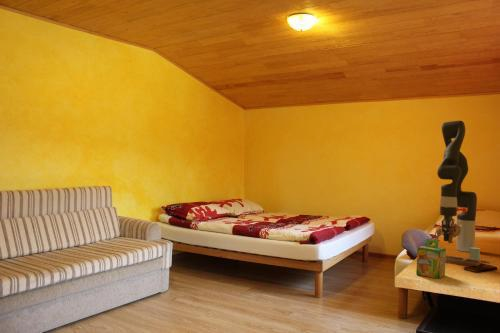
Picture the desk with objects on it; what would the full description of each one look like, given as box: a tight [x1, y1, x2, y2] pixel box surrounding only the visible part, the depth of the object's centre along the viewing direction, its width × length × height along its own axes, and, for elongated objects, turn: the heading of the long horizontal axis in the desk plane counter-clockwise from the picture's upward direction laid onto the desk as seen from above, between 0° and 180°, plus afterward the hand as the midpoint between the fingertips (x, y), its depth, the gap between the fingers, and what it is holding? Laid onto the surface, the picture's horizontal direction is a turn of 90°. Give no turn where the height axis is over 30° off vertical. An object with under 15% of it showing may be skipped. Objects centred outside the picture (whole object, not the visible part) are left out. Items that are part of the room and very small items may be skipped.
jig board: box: [445, 254, 483, 267], centre depth 206 cm, size 12×22×2 cm, turn 51°
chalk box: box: [416, 238, 447, 280], centre depth 176 cm, size 9×9×15 cm
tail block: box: [468, 247, 481, 260], centre depth 211 cm, size 4×4×6 cm
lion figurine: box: [430, 224, 461, 244], centre depth 209 cm, size 15×5×9 cm, turn 39°
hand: (447, 240), depth 208 cm, fingers closed on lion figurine, 5 cm apart
